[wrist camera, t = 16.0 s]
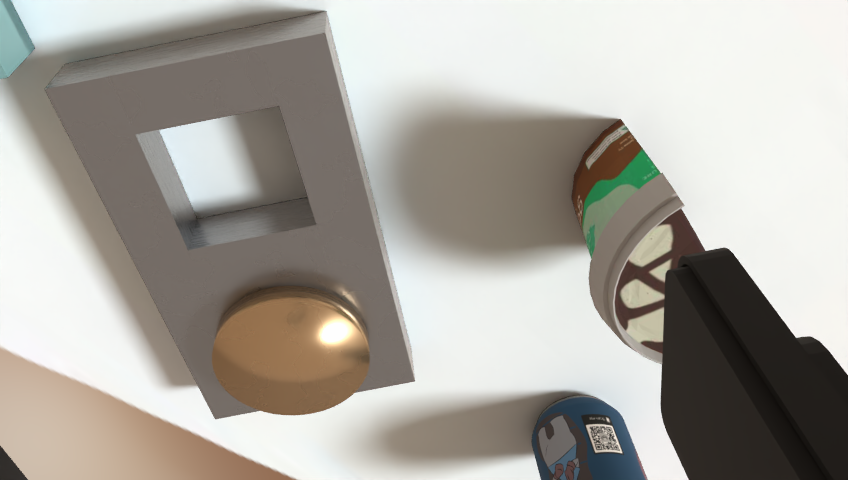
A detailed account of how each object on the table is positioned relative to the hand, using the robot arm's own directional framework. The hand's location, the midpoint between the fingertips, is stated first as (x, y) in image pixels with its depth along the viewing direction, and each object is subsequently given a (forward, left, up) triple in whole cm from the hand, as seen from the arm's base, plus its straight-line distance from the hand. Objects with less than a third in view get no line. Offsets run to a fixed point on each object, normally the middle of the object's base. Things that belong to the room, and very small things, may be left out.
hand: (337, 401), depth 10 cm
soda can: (+37, +9, -28) cm, 48 cm away
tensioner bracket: (+15, -8, -28) cm, 33 cm away
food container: (+18, +12, -28) cm, 36 cm away
